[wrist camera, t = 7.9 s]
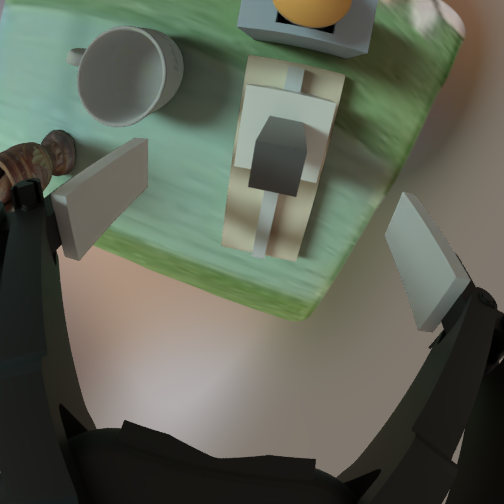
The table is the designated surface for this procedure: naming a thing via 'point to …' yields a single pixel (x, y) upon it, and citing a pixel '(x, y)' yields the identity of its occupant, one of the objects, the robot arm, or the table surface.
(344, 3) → the button
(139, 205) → the table surface
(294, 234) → the rail board
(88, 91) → the teacup
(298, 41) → the blue-grey button box
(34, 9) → the table surface
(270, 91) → the carriage
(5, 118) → the table surface
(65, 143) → the mortar and pestle
